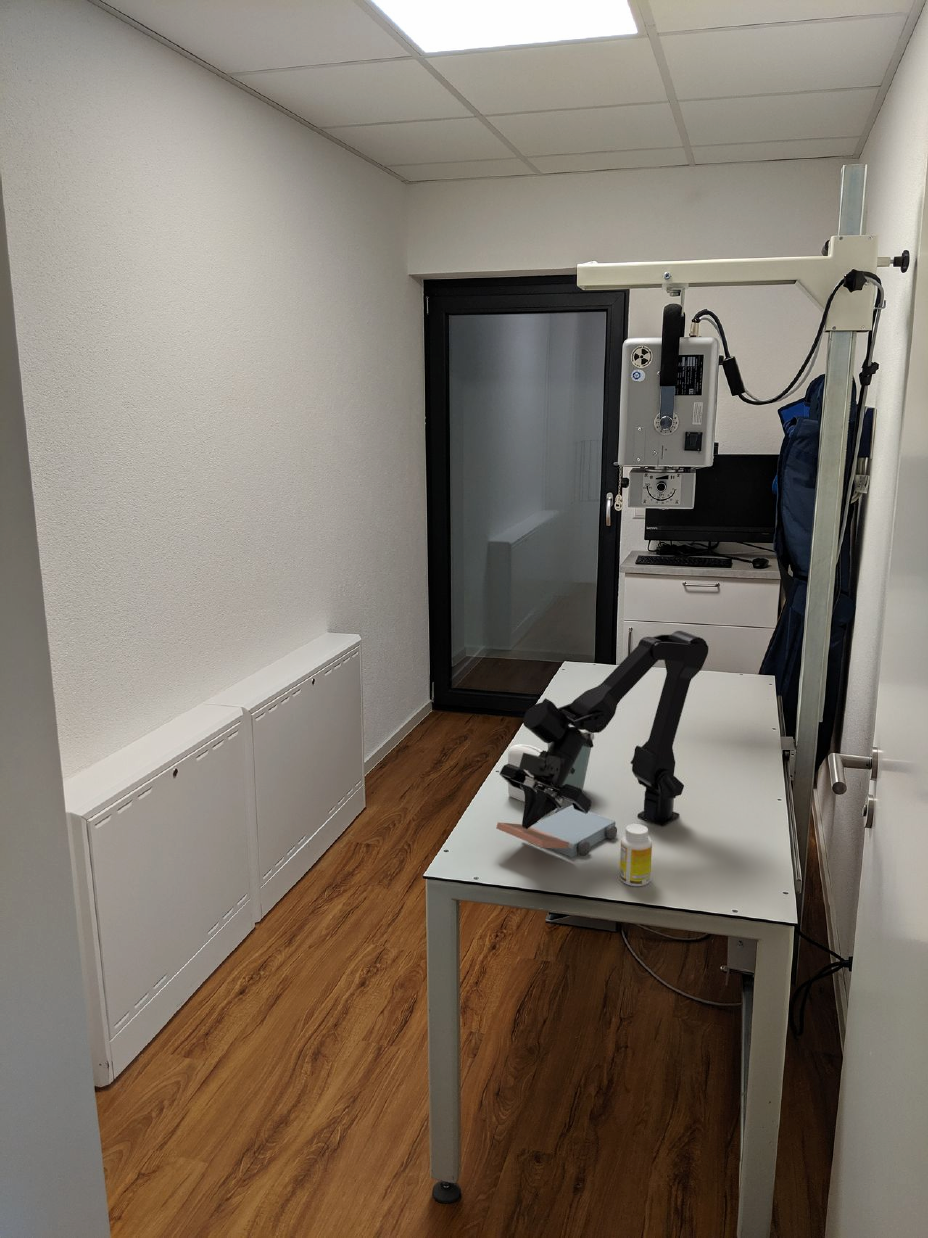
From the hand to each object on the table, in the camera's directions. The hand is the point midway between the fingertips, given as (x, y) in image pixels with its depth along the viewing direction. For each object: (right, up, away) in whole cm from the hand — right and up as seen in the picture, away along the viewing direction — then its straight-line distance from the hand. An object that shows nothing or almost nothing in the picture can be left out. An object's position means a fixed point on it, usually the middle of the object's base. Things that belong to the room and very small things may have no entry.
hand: (524, 827), depth 178 cm
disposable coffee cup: (+12, +1, +34) cm, 36 cm away
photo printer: (+3, 0, +29) cm, 29 cm away
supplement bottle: (+20, -9, -5) cm, 22 cm away
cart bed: (+10, -4, +12) cm, 17 cm away
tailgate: (+5, -3, +6) cm, 8 cm away
